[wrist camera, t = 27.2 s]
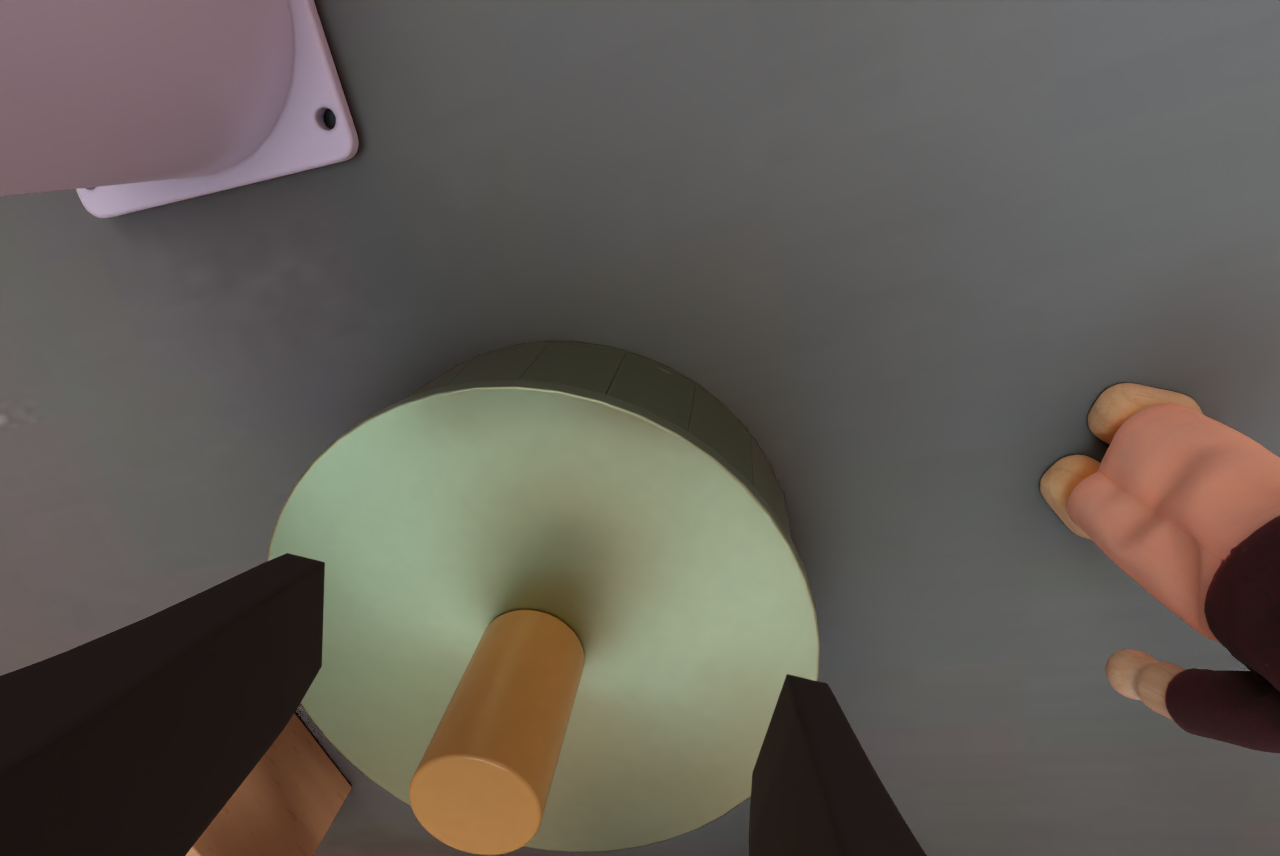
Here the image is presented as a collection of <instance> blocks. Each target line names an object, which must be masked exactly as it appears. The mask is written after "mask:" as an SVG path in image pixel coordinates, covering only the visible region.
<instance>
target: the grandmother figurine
mask: <svg viewBox="0 0 1280 856" xmlns="http://www.w3.org/2000/svg"><path fill="white" fill-rule="evenodd" d="M1088 425H1089V428H1090V430H1091V432H1092V433H1093V434H1094V435H1095V436H1096V437H1098V438H1099V439H1100V440H1102V441H1104V442H1106V443H1107V444H1109V445H1110V446H1109V448H1108V449H1107V451H1106V454H1105V456H1104V458H1103V459H1102V461H1101V463H1100V462H1098V461H1096V460H1095V459H1093V458H1091V457H1088V456H1085V455H1078V454H1077V455H1071V456H1067V457H1064V458H1062V459H1060V460H1059V461H1057V462H1056V463H1055V464H1054V465H1053V466H1052V467H1050V468H1049V469H1048V470H1047V471H1046V472H1045V473H1044V475H1043V477H1042V478H1041V481H1040V491H1041V494H1042V496H1043V498H1044V499H1045V500H1046V502H1047V503H1048V504H1049V506H1050V507H1051V508H1052V509H1053V511H1054V512H1055V513H1056V514H1057V515H1058V517H1059V518H1060V519H1061V520H1062V522H1063V523H1064V524H1065V525H1066V526H1067V527H1068V528H1069V529H1070V530H1071V531H1072V532H1073V533H1075V534H1077V535H1079V536H1081V537H1083V538H1087V539H1091V540H1093V541H1094V543H1095V544H1096V545H1097V546H1098V547H1099V548H1100V549H1101V550H1102V551H1103V552H1104V553H1105V554H1106V555H1107V556H1108V557H1109V558H1110V559H1111V560H1112V561H1113V562H1115V563H1116V564H1117V565H1118V566H1119V567H1120V568H1121V569H1122V570H1123V571H1124V572H1126V573H1127V574H1128V575H1129V576H1130V577H1132V578H1133V579H1134V580H1135V581H1136V582H1137V583H1139V584H1140V585H1141V586H1142V587H1143V588H1144V589H1146V590H1147V591H1148V592H1149V593H1150V594H1151V595H1153V596H1154V597H1155V598H1156V599H1157V600H1158V601H1159V602H1161V603H1162V604H1163V605H1165V606H1166V607H1167V608H1168V609H1170V610H1171V611H1172V612H1174V613H1175V614H1176V615H1177V616H1179V617H1180V618H1181V619H1183V620H1184V621H1185V622H1186V623H1188V624H1189V625H1190V626H1191V627H1193V628H1194V629H1195V630H1197V631H1198V632H1199V633H1201V634H1202V635H1204V636H1205V637H1207V638H1209V639H1212V640H1215V641H1218V642H1220V643H1221V644H1222V645H1223V646H1224V647H1226V648H1227V649H1228V651H1229V652H1230V653H1231V654H1232V656H1234V657H1235V658H1236V659H1237V660H1238V661H1240V662H1241V663H1243V664H1244V665H1245V666H1246V667H1247V668H1248V669H1249V670H1250V671H1213V670H1207V669H1195V668H1193V669H1188V670H1186V669H1184V668H1181V667H1179V666H1177V665H1174V664H1172V663H1167V662H1162V661H1159V662H1158V661H1157V660H1155V659H1154V658H1153V657H1152V656H1151V655H1149V654H1147V653H1145V652H1142V651H1139V650H1135V649H1122V650H1120V651H1117V652H1115V653H1114V654H1112V656H1111V657H1110V658H1109V659H1108V661H1107V664H1106V676H1107V679H1108V681H1109V682H1110V684H1111V685H1112V687H1113V688H1114V689H1115V690H1116V691H1117V692H1119V693H1120V694H1122V695H1124V696H1126V697H1128V698H1131V699H1135V700H1142V702H1143V703H1144V704H1145V705H1146V706H1147V707H1149V708H1150V709H1152V710H1154V711H1155V712H1157V713H1159V714H1161V715H1163V716H1165V717H1167V718H1169V719H1171V720H1173V721H1175V722H1176V723H1177V724H1178V725H1179V726H1180V727H1181V728H1182V729H1184V730H1185V731H1186V732H1188V733H1191V734H1195V735H1198V736H1202V737H1207V738H1212V739H1215V740H1219V741H1224V742H1228V743H1231V744H1235V745H1238V746H1242V747H1246V748H1249V749H1253V750H1259V751H1264V752H1272V753H1280V458H1279V457H1278V456H1276V455H1275V454H1273V453H1271V452H1270V451H1268V450H1267V449H1266V448H1264V447H1263V446H1262V445H1260V444H1259V443H1258V442H1256V441H1254V440H1252V439H1251V438H1249V437H1247V436H1245V435H1244V434H1242V433H1240V432H1238V431H1236V430H1234V429H1232V428H1230V427H1228V426H1226V425H1224V424H1222V423H1220V422H1218V421H1215V420H1213V419H1211V418H1209V417H1207V416H1205V415H1203V414H1202V411H1201V409H1200V407H1199V406H1198V404H1197V403H1196V402H1195V401H1194V400H1193V399H1192V398H1190V397H1189V396H1186V395H1184V394H1181V393H1177V392H1173V391H1169V390H1163V389H1158V388H1153V387H1149V386H1145V385H1140V384H1134V383H1121V384H1117V385H1114V386H1112V387H1110V388H1108V389H1107V390H1105V391H1104V392H1103V393H1102V394H1101V395H1100V396H1099V398H1098V399H1097V400H1096V402H1095V403H1094V405H1093V407H1092V408H1091V410H1090V412H1089V414H1088Z"/></svg>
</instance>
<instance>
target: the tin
mask: <svg viewBox="0 0 1280 856" xmlns="http://www.w3.org/2000/svg"><path fill="white" fill-rule="evenodd" d="M498 380H526V381H536V382H546V383H555V384H564V385H568V386H572V387H577V388H581V389H585V390H590V391H594V392H598V393H603V394H606V395H608V396H611V397H614V398H617V399H619V400H622V401H625V402H628V403H630V404H633V405H636V406H639V407H641V408H644V409H646V410H648V411H650V412H652V413H654V414H655V415H657V416H659V417H661V418H663V419H665V420H667V421H669V422H671V423H673V424H675V425H677V426H679V427H681V428H682V429H684V430H685V431H687V432H688V433H690V434H691V435H693V436H694V437H696V438H697V439H699V440H700V441H702V442H703V443H705V444H706V445H707V446H709V447H710V448H712V449H713V450H715V451H716V452H717V453H718V454H719V455H720V456H722V457H723V458H724V459H725V460H726V461H727V462H728V463H730V464H731V465H732V466H733V467H734V468H735V469H736V470H737V471H739V472H740V473H741V474H742V475H743V476H744V477H745V478H746V479H747V480H748V481H749V482H750V484H751V485H752V486H753V487H754V488H755V489H756V490H757V492H758V493H759V494H760V495H761V496H762V497H763V498H764V500H765V501H766V502H767V503H768V504H769V505H770V507H771V508H772V510H773V511H774V513H775V514H776V516H777V517H778V519H779V520H780V522H781V524H782V525H783V527H784V528H785V530H786V531H787V533H788V534H789V536H790V538H791V535H790V528H789V521H788V516H787V509H786V503H785V497H784V495H783V492H782V491H781V489H780V487H779V485H778V483H777V480H776V478H775V475H774V473H773V470H772V468H771V467H770V465H769V463H768V461H767V460H766V458H765V456H764V454H763V453H762V451H761V449H760V447H759V446H758V444H757V443H756V442H755V440H754V439H753V438H752V436H751V435H750V434H749V433H748V431H747V430H746V429H745V427H744V426H743V425H742V424H741V422H740V421H739V420H738V419H737V418H736V417H735V416H734V415H733V414H732V413H731V412H730V411H729V410H728V409H727V408H726V407H725V406H724V405H723V404H722V403H721V402H720V401H718V400H717V399H716V398H714V397H713V396H712V395H710V394H709V393H708V392H706V391H705V390H704V389H703V388H701V387H700V386H699V385H697V384H696V383H695V382H693V381H691V380H689V379H688V378H686V377H684V376H682V375H681V374H679V373H677V372H675V371H674V370H672V369H670V368H669V367H666V366H664V365H662V364H659V363H657V362H654V361H652V360H650V359H647V358H645V357H643V356H640V355H637V354H634V353H630V352H626V351H623V350H619V349H616V348H612V347H608V346H602V345H595V344H588V343H581V342H550V341H547V342H538V343H529V344H520V345H515V346H511V347H507V348H503V349H499V350H495V351H491V352H488V353H485V354H483V355H479V356H476V357H474V358H472V359H471V360H468V361H466V362H463V363H462V364H460V365H458V366H456V367H455V368H453V369H451V370H450V371H448V372H446V373H445V374H443V375H441V376H439V377H438V378H437V379H435V380H434V381H432V382H430V383H428V384H427V385H425V386H423V387H421V388H420V389H419V390H418V391H416V392H415V393H414V394H413V395H412V396H414V395H417V394H421V393H424V392H427V391H430V390H434V389H437V388H440V387H445V386H452V385H458V384H464V383H471V382H477V381H498ZM410 397H411V396H410Z"/></svg>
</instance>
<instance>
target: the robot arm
mask: <svg viewBox="0 0 1280 856" xmlns="http://www.w3.org/2000/svg"><path fill="white" fill-rule="evenodd" d="M328 108H329V109H330V110H332V111H333V113H334V115H335V117H336V124H335V126H334V128H333V129H330V128H328V127H327V126H326V124H325V122H324V116H323V115H324V113H325V110H327V109H328ZM358 146H359V142H358V135H357V132H356V129H355V126H354V123H353V120H352V117H351V114H350V111H349V108H348V104H347V101H346V98H345V95H344V92H343V89H342V86H341V83H340V80H339V77H338V74H337V71H336V67H335V64H334V61H333V58H332V55H331V52H330V49H329V46H328V43H327V40H326V37H325V34H324V30H323V27H322V24H321V21H320V18H319V15H318V12H317V9H316V6H315V3H314V0H0V196H8V195H18V194H28V193H39V192H49V191H59V190H69V189H76V191H77V193H78V195H79V198H80V200H81V202H82V204H83V205H84V207H85V208H86V210H87V211H88V212H90V213H91V214H92V215H94V216H96V217H98V218H110V217H116V216H120V215H124V214H128V213H132V212H136V211H141V210H145V209H149V208H153V207H157V206H161V205H165V204H170V203H174V202H178V201H182V200H186V199H190V198H194V197H199V196H203V195H207V194H211V193H215V192H219V191H223V190H227V189H232V188H236V187H240V186H244V185H248V184H252V183H256V182H261V181H265V180H269V179H273V178H277V177H281V176H285V175H290V174H294V173H298V172H302V171H306V170H310V169H314V168H319V167H323V166H327V165H331V164H335V163H339V162H343V161H347V160H349V159H351V158H353V157H354V155H355V154H356V153H357V150H358ZM324 576H325V562H322V561H318V560H314V559H309V558H305V557H301V556H297V555H293V554H289V553H286V554H284V555H281V556H279V557H277V558H274V559H272V560H270V561H267V562H265V563H263V564H261V565H259V566H257V567H254V568H252V569H250V570H248V571H246V572H244V573H242V574H239V575H237V576H235V577H233V578H231V579H229V580H227V581H225V582H223V583H221V584H218V585H216V586H214V587H212V588H210V589H208V590H206V591H204V592H201V593H199V594H197V595H195V596H193V597H191V598H189V599H186V600H184V601H182V602H180V603H178V604H176V605H173V606H171V607H169V608H167V609H165V610H163V611H160V612H158V613H156V614H154V615H152V616H150V617H147V618H145V619H143V620H140V621H138V622H136V623H133V624H131V625H128V626H126V627H124V628H121V629H119V630H117V631H114V632H112V633H109V634H107V635H105V636H102V637H100V638H98V639H95V640H93V641H90V642H88V643H86V644H83V645H81V646H79V647H76V648H74V649H71V650H69V651H67V652H64V653H62V654H59V655H56V656H54V657H51V658H49V659H46V660H43V661H41V662H38V663H35V664H33V665H30V666H27V667H25V668H22V669H19V670H16V671H13V672H11V673H8V674H5V675H2V676H0V856H185V855H186V854H187V853H188V852H189V850H190V849H191V848H192V847H193V845H194V844H195V843H196V841H197V840H198V839H199V838H200V836H201V835H202V834H203V832H204V831H205V830H206V829H207V827H208V826H209V825H210V824H211V822H212V821H213V820H214V818H215V817H216V816H217V815H218V813H219V812H220V811H221V809H222V808H223V807H224V806H225V804H226V803H227V802H228V801H229V799H230V798H231V797H232V795H233V794H234V793H235V792H236V790H237V789H238V788H239V787H240V785H241V784H242V783H243V781H244V780H245V779H246V778H247V776H248V775H249V774H250V772H251V771H252V770H253V769H254V767H255V766H256V765H257V763H258V762H259V761H260V760H261V758H262V757H263V756H264V754H265V753H266V752H267V750H268V749H269V748H270V747H271V745H272V744H273V743H274V741H275V740H276V739H277V737H278V736H279V735H280V733H281V732H282V731H283V729H284V728H285V727H286V725H287V724H288V722H289V721H290V719H291V717H292V716H293V714H294V712H295V711H296V709H297V708H298V706H299V704H300V703H301V701H302V700H303V698H304V696H305V694H306V693H307V691H308V689H309V687H310V686H311V684H312V682H313V681H314V679H315V677H316V675H317V674H318V672H319V670H320V669H321V667H322V641H323V608H324ZM749 856H927V855H926V854H925V852H924V851H923V849H922V848H921V846H920V845H919V843H918V842H917V840H916V838H915V837H914V835H913V834H912V832H911V830H910V829H909V827H908V826H907V824H906V822H905V821H904V819H903V818H902V816H901V814H900V812H899V811H898V809H897V807H896V806H895V804H894V802H893V801H892V799H891V797H890V796H889V794H888V792H887V791H886V789H885V787H884V786H883V784H882V782H881V781H880V779H879V777H878V775H877V773H876V772H875V770H874V768H873V766H872V765H871V763H870V761H869V759H868V757H867V756H866V754H865V752H864V750H863V748H862V747H861V745H860V743H859V741H858V739H857V737H856V736H855V734H854V732H853V730H852V728H851V726H850V724H849V723H848V721H847V719H846V717H845V715H844V713H843V711H842V709H841V707H840V706H839V704H838V702H837V700H836V698H835V696H834V694H833V693H832V691H831V689H830V687H829V686H828V684H826V683H822V682H818V681H814V680H810V679H806V678H802V677H797V676H793V675H789V674H787V675H786V678H785V681H784V684H783V687H782V690H781V692H780V695H779V698H778V701H777V704H776V707H775V710H774V712H773V715H772V718H771V721H770V724H769V727H768V730H767V733H766V735H765V738H764V741H763V744H762V747H761V750H760V753H759V755H758V758H757V761H756V764H755V767H754V770H753V773H752V787H751V804H750V825H749Z"/></svg>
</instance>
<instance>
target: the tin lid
mask: <svg viewBox="0 0 1280 856" xmlns="http://www.w3.org/2000/svg"><path fill="white" fill-rule="evenodd" d="M286 553H289V554H293V555H297V556H301V557H305V558H309V559H314V560H318V561H322V562H325V576H324V608H323V641H322V667H321V669H320V670H319V672H318V674H317V675H316V677H315V679H314V681H313V682H312V684H311V686H310V687H309V689H308V691H307V693H306V694H305V696H304V698H303V700H302V701H301V704H302V706H303V707H304V709H305V711H306V712H307V714H308V715H309V716H310V718H311V719H312V720H313V721H314V723H315V724H316V725H317V727H318V728H319V729H320V730H321V732H322V733H323V734H324V736H325V737H326V738H327V739H328V740H329V741H330V742H331V743H332V744H333V745H334V746H335V747H336V748H337V749H338V751H339V752H340V753H341V754H342V755H343V756H344V757H345V758H346V759H347V760H348V761H349V762H351V763H352V764H353V765H354V766H355V767H357V768H358V769H359V770H360V771H361V772H362V773H364V774H365V775H366V776H367V777H368V778H369V779H371V780H372V781H373V782H375V783H376V784H378V785H379V786H381V787H382V788H383V789H385V790H386V791H388V792H389V793H391V794H392V795H393V796H395V797H396V798H398V799H400V800H401V801H403V802H405V803H407V804H408V805H410V806H411V807H412V810H413V812H414V814H415V816H416V818H417V819H418V821H419V822H420V823H421V825H422V826H423V827H424V828H425V829H426V830H427V831H428V832H429V833H430V834H431V835H433V836H434V837H435V838H437V839H438V840H440V841H441V842H443V843H445V844H447V845H449V846H451V847H453V848H455V849H458V850H461V851H464V852H468V853H473V854H479V855H499V854H505V853H509V852H512V851H515V850H517V849H519V848H521V847H530V848H536V849H543V850H554V851H570V852H592V851H612V850H619V849H627V848H634V847H640V846H644V845H649V844H653V843H657V842H661V841H665V840H669V839H672V838H674V837H677V836H680V835H682V834H685V833H688V832H691V831H693V830H696V829H698V828H700V827H702V826H704V825H706V824H708V823H710V822H712V821H714V820H716V819H718V818H720V817H722V816H724V815H725V814H727V813H728V812H729V811H731V810H732V809H734V808H735V807H737V806H738V805H740V804H741V803H743V802H744V801H745V800H747V799H748V798H749V797H750V796H751V787H752V773H753V770H754V767H755V764H756V761H757V758H758V755H759V753H760V750H761V747H762V744H763V741H764V738H765V735H766V733H767V730H768V727H769V724H770V721H771V718H772V715H773V712H774V710H775V707H776V704H777V701H778V698H779V695H780V692H781V690H782V687H783V684H784V681H785V678H786V675H787V674H789V675H793V676H797V677H802V678H806V679H810V680H814V681H818V676H819V662H820V637H819V630H818V622H817V614H816V607H815V601H814V598H813V594H812V591H811V587H810V584H809V581H808V577H807V574H806V570H805V567H804V565H803V563H802V561H801V559H800V557H799V555H798V553H797V550H796V548H795V546H794V544H793V542H792V540H791V538H790V536H789V534H788V533H787V531H786V530H785V528H784V527H783V525H782V524H781V522H780V520H779V519H778V517H777V516H776V514H775V513H774V511H773V510H772V508H771V507H770V505H769V504H768V503H767V502H766V501H765V500H764V498H763V497H762V496H761V495H760V494H759V493H758V492H757V490H756V489H755V488H754V487H753V486H752V485H751V484H750V482H749V481H748V480H747V479H746V478H745V477H744V476H743V475H742V474H741V473H740V472H739V471H737V470H736V469H735V468H734V467H733V466H732V465H731V464H730V463H728V462H727V461H726V460H725V459H724V458H723V457H722V456H720V455H719V454H718V453H717V452H716V451H715V450H713V449H712V448H710V447H709V446H707V445H706V444H705V443H703V442H702V441H700V440H699V439H697V438H696V437H694V436H693V435H691V434H690V433H688V432H687V431H685V430H684V429H682V428H681V427H679V426H677V425H675V424H673V423H671V422H669V421H667V420H665V419H663V418H661V417H659V416H657V415H655V414H654V413H652V412H650V411H648V410H646V409H644V408H641V407H639V406H636V405H633V404H630V403H628V402H625V401H622V400H619V399H617V398H614V397H611V396H608V395H606V394H603V393H598V392H594V391H590V390H585V389H581V388H577V387H572V386H568V385H564V384H555V383H546V382H536V381H526V380H498V381H477V382H471V383H464V384H458V385H452V386H445V387H440V388H437V389H434V390H430V391H427V392H424V393H421V394H417V395H414V396H411V397H407V398H405V399H403V400H401V401H398V402H396V403H394V404H392V405H390V406H388V407H386V408H383V409H381V410H379V411H377V412H375V413H373V414H372V415H370V416H369V417H367V418H366V419H364V420H363V421H361V422H360V423H358V424H357V425H355V426H354V427H352V428H351V429H349V430H348V431H346V432H345V433H344V434H342V435H341V436H340V437H339V438H337V439H336V440H335V441H334V442H333V443H332V444H331V445H330V446H329V447H328V448H327V449H326V450H325V451H323V452H322V453H321V454H320V455H319V456H318V457H317V458H316V459H315V460H314V461H313V462H312V463H311V465H310V466H309V467H308V469H307V470H306V471H305V472H304V474H303V475H302V476H301V478H300V479H299V480H298V482H297V483H296V484H295V485H294V487H293V489H292V491H291V493H290V495H289V496H288V498H287V500H286V502H285V504H284V506H283V508H282V510H281V512H280V514H279V517H278V520H277V523H276V526H275V529H274V532H273V535H272V538H271V541H270V545H269V552H268V558H267V561H270V560H272V559H274V558H277V557H279V556H281V555H284V554H286Z"/></svg>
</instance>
